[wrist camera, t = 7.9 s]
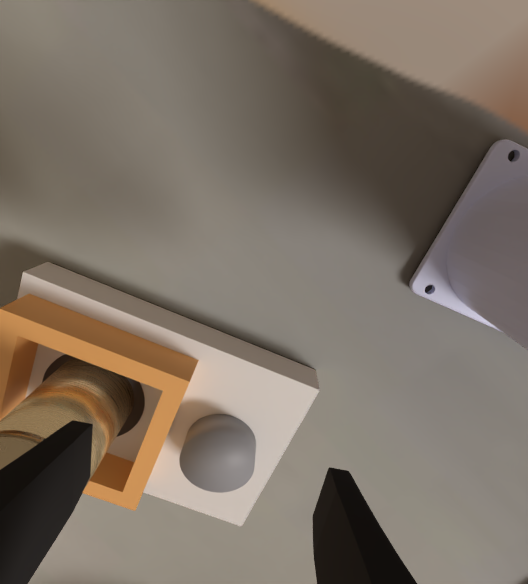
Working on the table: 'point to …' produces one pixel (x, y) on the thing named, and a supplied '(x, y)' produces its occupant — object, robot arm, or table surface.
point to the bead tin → (69, 410)
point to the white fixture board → (160, 392)
